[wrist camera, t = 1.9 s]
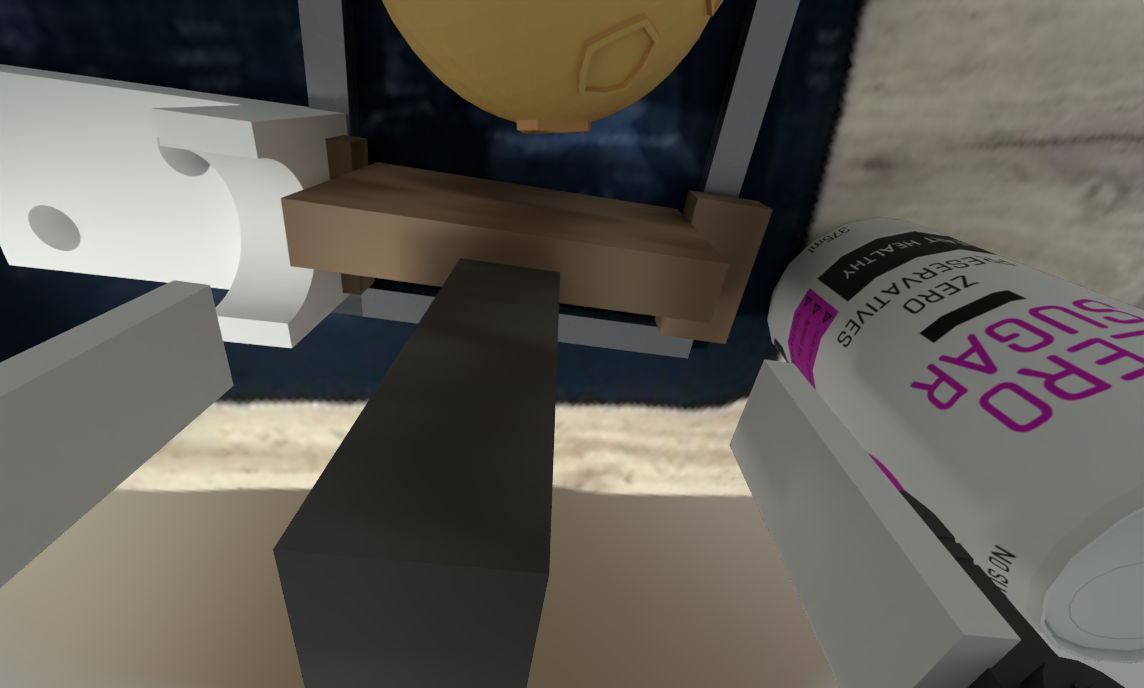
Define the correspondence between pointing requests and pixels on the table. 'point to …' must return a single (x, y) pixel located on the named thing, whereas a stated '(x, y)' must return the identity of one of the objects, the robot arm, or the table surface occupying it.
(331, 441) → the table surface
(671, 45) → the stress ball
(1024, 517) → the supplement can
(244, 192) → the bracket
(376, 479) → the carriage
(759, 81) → the rails
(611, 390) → the table surface
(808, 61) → the table surface
